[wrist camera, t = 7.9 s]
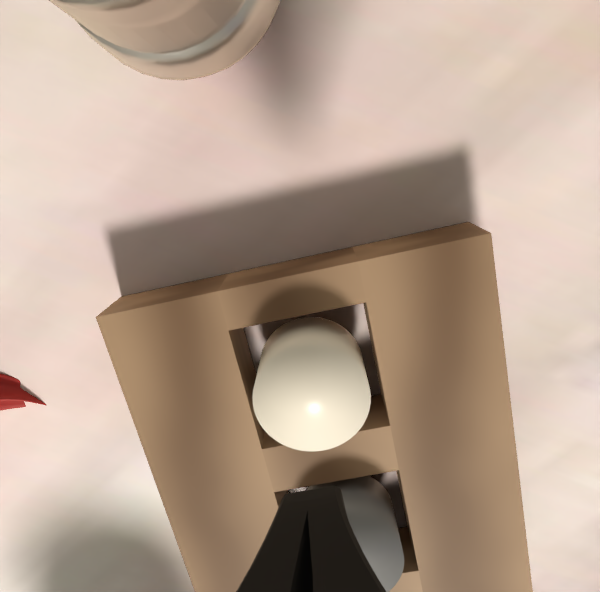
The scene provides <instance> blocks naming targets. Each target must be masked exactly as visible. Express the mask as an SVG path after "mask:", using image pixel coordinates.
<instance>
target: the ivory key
mask: <svg viewBox="0 0 600 592" xmlns="http://www.w3.org/2000/svg"><path fill="white" fill-rule="evenodd" d="M252 399H253V408H254V412H255V415H256V418H257V420H258V421H259V423H260V425H261V426H262V428H263V429H264V430H265V431H266V432H267V434H268V435H269V436H271V437H272V438H273V439H274V440H276V441H277V442H279V443H281V444H283V445H285V446H287V447H289V448H292V449H296V450H300V451H324V450H328V449H332V448H334V447H337V446H339V445H341V444H343V443H345V442H346V441H348V440H349V439H351V438H352V437H353V436H354V435H355V434H356V433H357V432H358V431H359V430H360V429H361V427H362V426H363V424H364V423H365V421H366V418H367V416H368V413H369V410H370V404H371V394H370V387H369V383H368V379H367V375H366V371H365V367H364V362H363V358H362V354H361V351H360V348H359V346H358V343H357V342H356V340H355V339H354V337H353V336H352V335H351V334H350V333H349V332H348V331H347V330H346V329H345V328H344V327H342V326H341V325H339V324H337V323H335V322H333V321H331V320H328V319H324V318H319V317H304V318H299V319H295V320H292V321H290V322H287V323H285V324H284V325H282V326H281V327H279V328H278V329H277V330H275V331H274V332H273V333H272V335H271V336H270V337H269V338H268V340H267V342H266V343H265V345H264V348H263V350H262V354H261V359H260V363H259V367H258V371H257V376H256V380H255V384H254V388H253V396H252Z"/></svg>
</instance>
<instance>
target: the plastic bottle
mask: <svg viewBox="0 0 600 592" xmlns="http://www.w3.org/2000/svg"><path fill="white" fill-rule="evenodd" d="M49 1H50V2H52V3H53V4H54V5H56V6H57V7H58V8H60V9H61V10H63V11H64V12H65V13H67V14H68V15H69V16H71V17H72V18H74V19H75V20H76V22H77V23H78V24H79V25H80V26H81V27H82V28H83V29H84V31H85V32H86V33H87V34H88V35H89V36H90V37H91V38H92V39H93V40H94V41H95V42H97V43H98V44H99V45H100V46H101V47H102V48H104V49H105V50H106V51H107V52H109V53H110V54H111V55H112V56H114V57H115V58H116V59H118V60H119V61H120V62H121V63H123V64H124V65H126V66H128V67H130V68H132V69H134V70H136V71H138V72H140V73H142V74H146V75H149V76H153V77H157V78H160V79H170V80H188V79H194V78H200V77H205V76H209V75H212V74H214V73H217V72H219V71H222V70H225V69H227V68H229V67H230V66H232V65H233V64H235V63H237V62H238V61H240V60H241V59H243V58H244V57H245V56H246V55H247V54H248V53H249V52H250V51H251V50H252V49H253V48H254V47H255V46H256V45H257V44H258V43H259V41H260V40H261V38H262V37H263V35H264V34H265V32H266V31H267V30H268V28H269V26H270V24H271V22H272V19H273V17H274V15H275V13H276V10H277V8H278V6H279V3H280V1H281V0H49Z"/></svg>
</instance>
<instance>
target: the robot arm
mask: <svg viewBox="0 0 600 592" xmlns="http://www.w3.org/2000/svg"><path fill="white" fill-rule="evenodd" d="M236 592H386V590H385V589H384V587H383V586H382V584H381V582H380V581H379V579H378V578H377V576H376V574H375V572H374V571H373V569H372V567H371V566H370V564H369V562H368V560H367V558H366V557H365V555H364V553H363V551H362V549H361V547H360V545H359V543H358V541H357V539H356V536H355V534H354V532H353V530H352V528H351V525H350V523H349V520H348V517H347V513H346V509H345V505H344V500H343V496H342V492H341V489H340V488H339V487H337V486H329V487H324V488H318V489H312V490H306V491H300V492H295V493H289V494H285V496H284V497H283V498H282V500H281V503H280V505H279V508H278V510H277V512H276V515H275V517H274V519H273V522H272V524H271V526H270V528H269V530H268V533H267V535H266V537H265V539H264V541H263V543H262V545H261V547H260V549H259V551H258V553H257V555H256V557H255V559H254V561H253V563H252V565H251V567H250V569H249V570H248V572H247V574H246V576H245V577H244V579H243V581H242V583H241V584H240V586H239V588H238V590H237V591H236Z"/></svg>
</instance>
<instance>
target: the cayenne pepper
mask: <svg viewBox="0 0 600 592" xmlns="http://www.w3.org/2000/svg"><path fill="white" fill-rule="evenodd" d="M24 401H27V402H33V403H38V404H43V405H46V404H45V403H43V402H42V401H40V400H39V399H37V398H36V397H34V396H32V395H31V394H29V393H27V392H26V391H24V390H23V389H21V387H20V381H19V380H18V379H16V378H14V377H11V376H8V375H4V374H0V410H6V409H12V408H20V407H26V405H25V403H24Z"/></svg>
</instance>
